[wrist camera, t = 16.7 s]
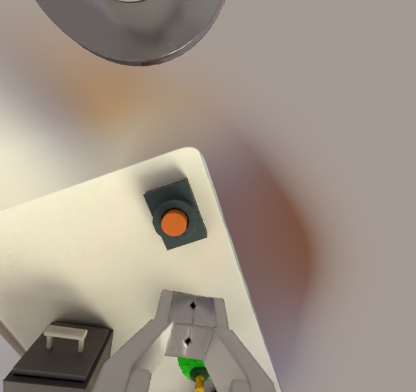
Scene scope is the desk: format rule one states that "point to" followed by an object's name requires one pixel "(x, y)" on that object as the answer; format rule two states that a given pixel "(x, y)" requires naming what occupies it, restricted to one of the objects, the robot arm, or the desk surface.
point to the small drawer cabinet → (48, 388)
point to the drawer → (63, 352)
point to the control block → (182, 200)
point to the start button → (174, 222)
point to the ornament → (194, 371)
